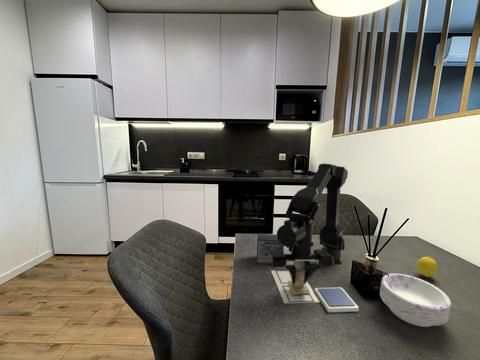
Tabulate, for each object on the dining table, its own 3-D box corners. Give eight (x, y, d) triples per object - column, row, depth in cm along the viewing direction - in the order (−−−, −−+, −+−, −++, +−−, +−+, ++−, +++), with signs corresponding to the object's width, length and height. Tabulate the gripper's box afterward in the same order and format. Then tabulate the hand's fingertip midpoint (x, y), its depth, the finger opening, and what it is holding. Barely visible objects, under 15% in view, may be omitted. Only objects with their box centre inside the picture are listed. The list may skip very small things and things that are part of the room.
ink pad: (341, 290, 71) (341, 286, 70) (358, 311, 62) (358, 306, 61) (314, 291, 70) (314, 287, 70) (328, 312, 61) (328, 307, 61)
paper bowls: (429, 346, 51) (435, 316, 50) (367, 304, 65) (370, 280, 64) (457, 324, 58) (462, 297, 57) (395, 290, 72) (399, 268, 70)
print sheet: (299, 270, 82) (299, 269, 81) (320, 302, 65) (320, 301, 65) (271, 271, 81) (271, 270, 81) (284, 303, 64) (284, 302, 64)
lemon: (432, 275, 82) (435, 255, 80) (438, 283, 77) (441, 262, 75) (413, 271, 84) (417, 251, 83) (418, 278, 79) (421, 258, 78)
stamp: (302, 284, 71) (304, 264, 70) (308, 295, 66) (310, 273, 65) (287, 285, 70) (289, 265, 69) (292, 295, 65) (294, 274, 64)
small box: (281, 258, 91) (283, 234, 89) (283, 266, 84) (285, 240, 83) (256, 255, 92) (257, 232, 90) (256, 264, 85) (257, 238, 84)
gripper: (320, 226, 74) (316, 268, 77) (266, 226, 73) (264, 269, 75) (337, 239, 63) (332, 288, 66) (274, 240, 62) (271, 290, 64)
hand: (298, 283), depth 68 cm, fingers closed on stamp, 3 cm apart
